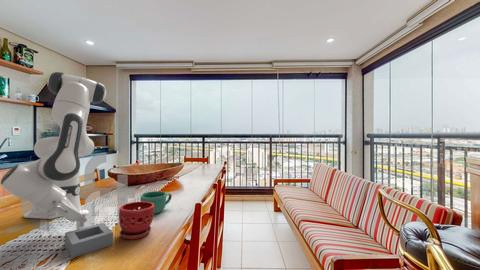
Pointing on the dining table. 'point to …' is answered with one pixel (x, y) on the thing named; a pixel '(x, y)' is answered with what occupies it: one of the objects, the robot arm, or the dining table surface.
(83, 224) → the milkshake
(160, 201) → the mug
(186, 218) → the dining table surface
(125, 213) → the plant pot
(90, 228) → the socket collar
